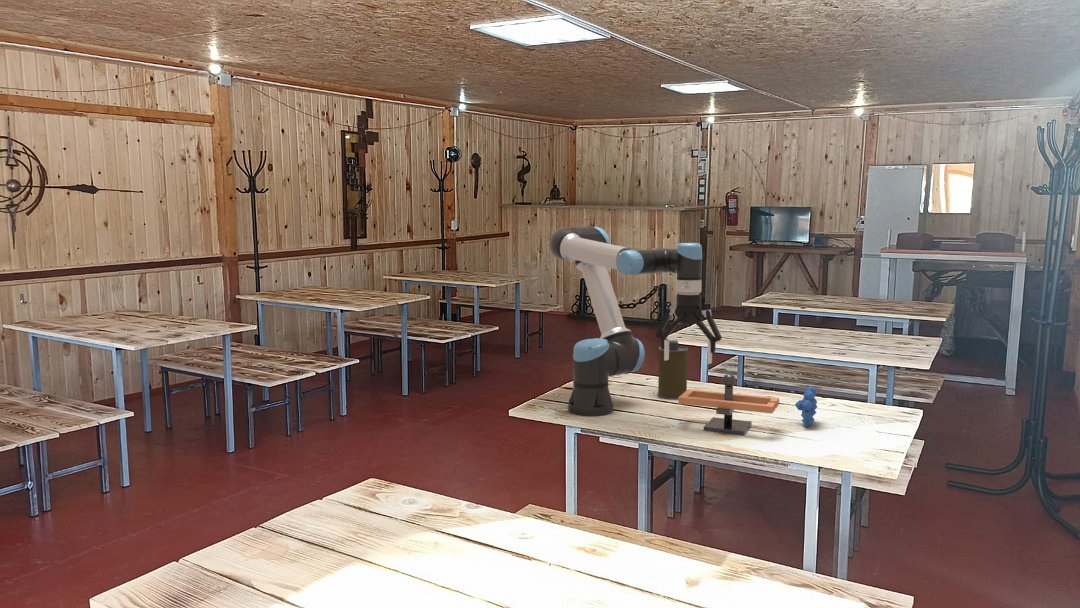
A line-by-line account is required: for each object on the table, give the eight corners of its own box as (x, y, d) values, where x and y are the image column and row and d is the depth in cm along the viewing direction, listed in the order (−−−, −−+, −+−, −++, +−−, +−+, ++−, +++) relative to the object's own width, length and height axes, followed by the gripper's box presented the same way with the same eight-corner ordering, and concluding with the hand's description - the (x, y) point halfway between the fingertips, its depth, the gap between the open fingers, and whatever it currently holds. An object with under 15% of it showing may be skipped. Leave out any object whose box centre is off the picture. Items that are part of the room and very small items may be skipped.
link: (678, 403, 242) (678, 397, 241) (688, 395, 252) (688, 389, 252) (772, 413, 230) (772, 406, 229) (779, 404, 240) (779, 397, 240)
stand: (702, 431, 238) (703, 377, 236) (714, 419, 251) (715, 367, 249) (742, 436, 233) (744, 380, 231) (752, 423, 246) (754, 371, 244)
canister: (689, 399, 278) (690, 343, 275) (659, 399, 278) (660, 343, 275) (684, 392, 288) (685, 338, 286) (655, 392, 288) (656, 338, 286)
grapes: (797, 418, 252) (799, 381, 251) (819, 421, 249) (821, 383, 247) (790, 427, 242) (792, 389, 240) (813, 430, 239) (815, 391, 237)
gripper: (646, 293, 244) (645, 360, 247) (727, 296, 234) (725, 366, 236) (653, 290, 251) (652, 356, 254) (732, 293, 240) (730, 362, 243)
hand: (687, 361), depth 245 cm, fingers open, 13 cm apart
